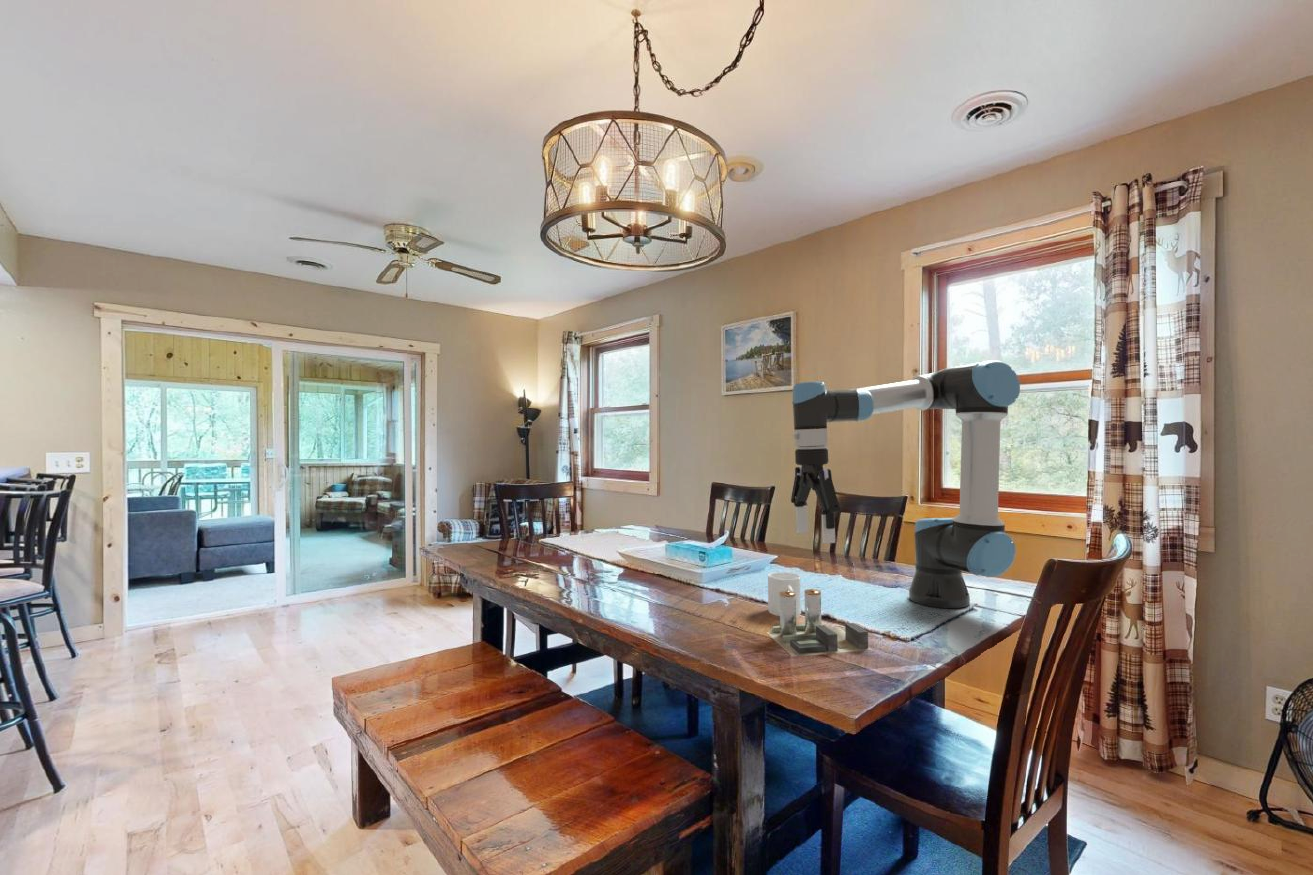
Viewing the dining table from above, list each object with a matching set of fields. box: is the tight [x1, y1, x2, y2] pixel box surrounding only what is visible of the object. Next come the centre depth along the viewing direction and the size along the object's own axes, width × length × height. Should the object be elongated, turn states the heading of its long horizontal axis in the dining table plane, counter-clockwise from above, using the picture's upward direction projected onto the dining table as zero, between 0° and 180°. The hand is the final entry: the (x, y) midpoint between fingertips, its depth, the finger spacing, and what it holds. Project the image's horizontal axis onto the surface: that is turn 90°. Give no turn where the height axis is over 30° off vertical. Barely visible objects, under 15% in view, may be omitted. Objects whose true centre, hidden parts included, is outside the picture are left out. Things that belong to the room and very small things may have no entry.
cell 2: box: [804, 588, 822, 634], centre depth 129 cm, size 4×4×10 cm
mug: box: [767, 571, 802, 617], centre depth 145 cm, size 12×8×10 cm
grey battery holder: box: [765, 622, 873, 658], centre depth 125 cm, size 18×15×4 cm
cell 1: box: [779, 591, 797, 637], centre depth 128 cm, size 4×4×10 cm
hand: (815, 537), depth 133 cm, fingers open, 13 cm apart
